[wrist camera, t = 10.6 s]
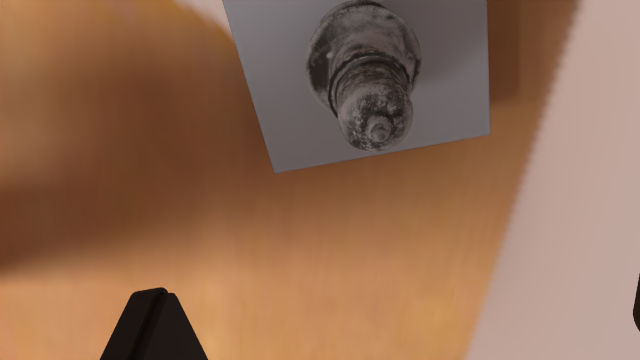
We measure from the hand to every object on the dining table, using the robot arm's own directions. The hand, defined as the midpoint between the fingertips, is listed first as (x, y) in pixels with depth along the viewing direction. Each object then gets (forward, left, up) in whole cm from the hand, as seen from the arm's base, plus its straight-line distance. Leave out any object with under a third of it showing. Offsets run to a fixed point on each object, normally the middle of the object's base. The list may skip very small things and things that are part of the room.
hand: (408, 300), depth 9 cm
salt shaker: (0, 0, -20) cm, 20 cm away
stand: (0, 0, -24) cm, 23 cm away
